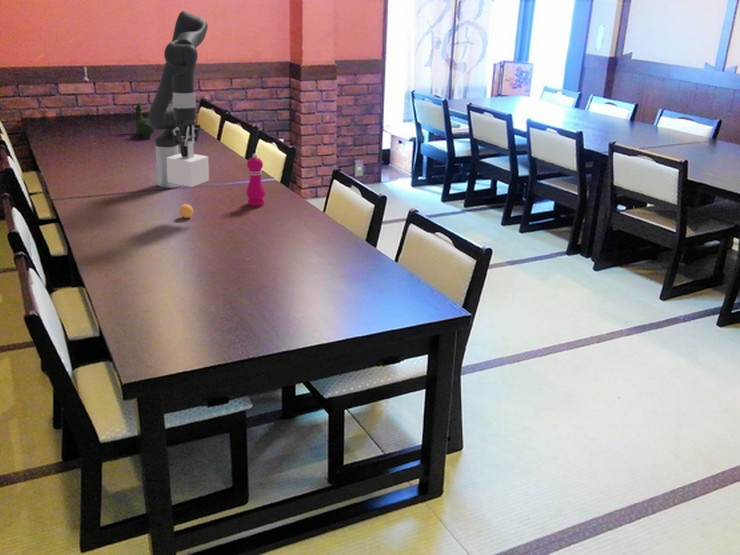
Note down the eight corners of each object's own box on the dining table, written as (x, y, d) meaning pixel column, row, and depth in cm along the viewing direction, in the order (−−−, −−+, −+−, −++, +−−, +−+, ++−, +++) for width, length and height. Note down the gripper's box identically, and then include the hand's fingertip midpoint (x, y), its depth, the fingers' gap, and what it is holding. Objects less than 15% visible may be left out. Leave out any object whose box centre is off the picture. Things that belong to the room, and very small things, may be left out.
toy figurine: (132, 136, 392) (140, 140, 371) (128, 102, 386) (136, 104, 365) (148, 135, 396) (158, 139, 375) (145, 102, 390) (154, 104, 369)
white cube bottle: (167, 182, 241) (165, 141, 235) (185, 175, 250) (184, 136, 244) (191, 186, 238) (190, 145, 232) (208, 180, 246) (208, 141, 241)
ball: (190, 212, 245) (184, 222, 248) (197, 208, 250) (192, 218, 252) (179, 203, 246) (173, 213, 248) (187, 200, 250) (181, 209, 252)
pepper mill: (268, 203, 271) (267, 153, 264) (258, 207, 265) (257, 156, 257) (253, 200, 274) (252, 151, 266) (243, 204, 268) (241, 154, 260)
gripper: (188, 102, 241) (191, 150, 247) (162, 107, 229) (166, 158, 235) (205, 104, 238) (208, 153, 245) (180, 109, 226) (184, 160, 233)
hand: (187, 155), depth 240 cm, fingers closed on white cube bottle, 3 cm apart
